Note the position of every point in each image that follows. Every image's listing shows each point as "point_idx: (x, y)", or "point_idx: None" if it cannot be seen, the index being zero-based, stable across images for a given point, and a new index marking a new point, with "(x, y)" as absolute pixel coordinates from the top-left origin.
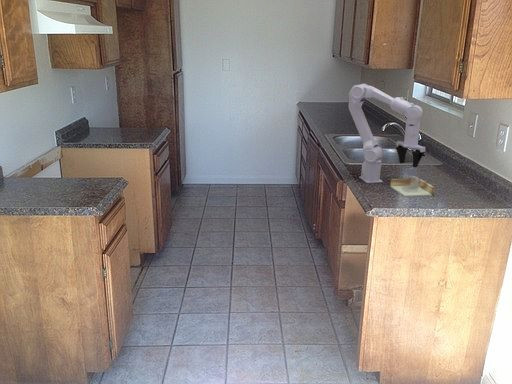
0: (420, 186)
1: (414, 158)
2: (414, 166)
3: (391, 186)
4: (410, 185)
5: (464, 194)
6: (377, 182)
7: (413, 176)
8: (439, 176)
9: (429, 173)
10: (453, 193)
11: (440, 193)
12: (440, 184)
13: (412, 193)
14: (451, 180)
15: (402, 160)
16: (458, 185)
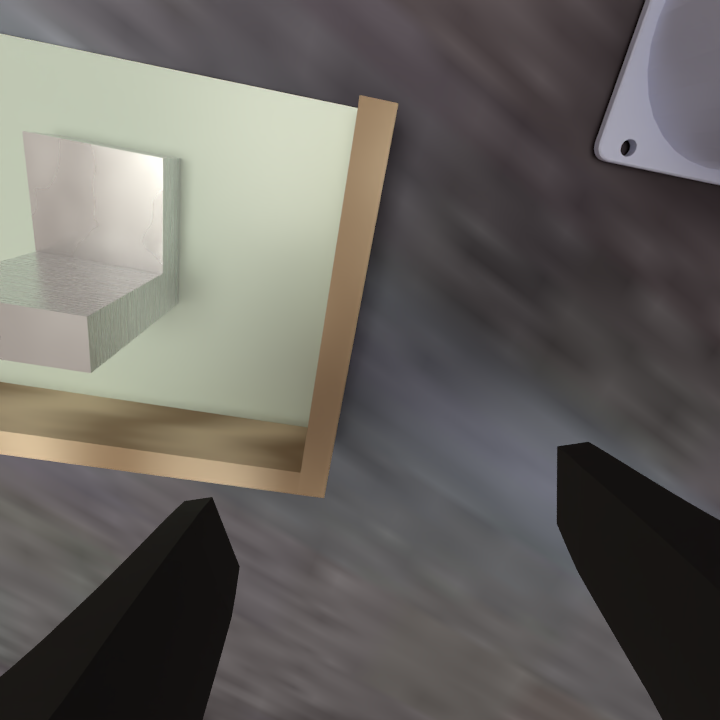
0: (229, 421)
1: (1, 701)
2: (173, 521)
3: (346, 106)
4: (150, 274)
5: (51, 616)
6: (623, 64)
7: (53, 333)
8: (499, 707)
9: (594, 696)
10: (80, 570)
11: (87, 488)
12: (322, 616)
13: (19, 194)
14: (385, 715)
15: (586, 528)
16: (266, 691)
